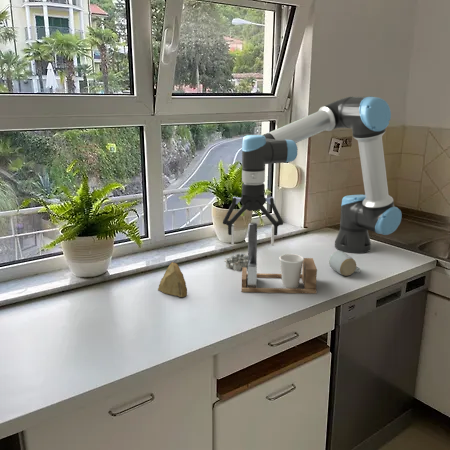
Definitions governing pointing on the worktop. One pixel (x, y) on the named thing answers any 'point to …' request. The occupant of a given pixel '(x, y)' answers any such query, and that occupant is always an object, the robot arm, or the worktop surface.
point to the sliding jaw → (252, 255)
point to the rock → (173, 281)
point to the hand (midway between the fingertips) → (252, 244)
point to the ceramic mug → (343, 263)
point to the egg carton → (237, 261)
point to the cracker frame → (307, 277)
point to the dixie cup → (291, 269)
